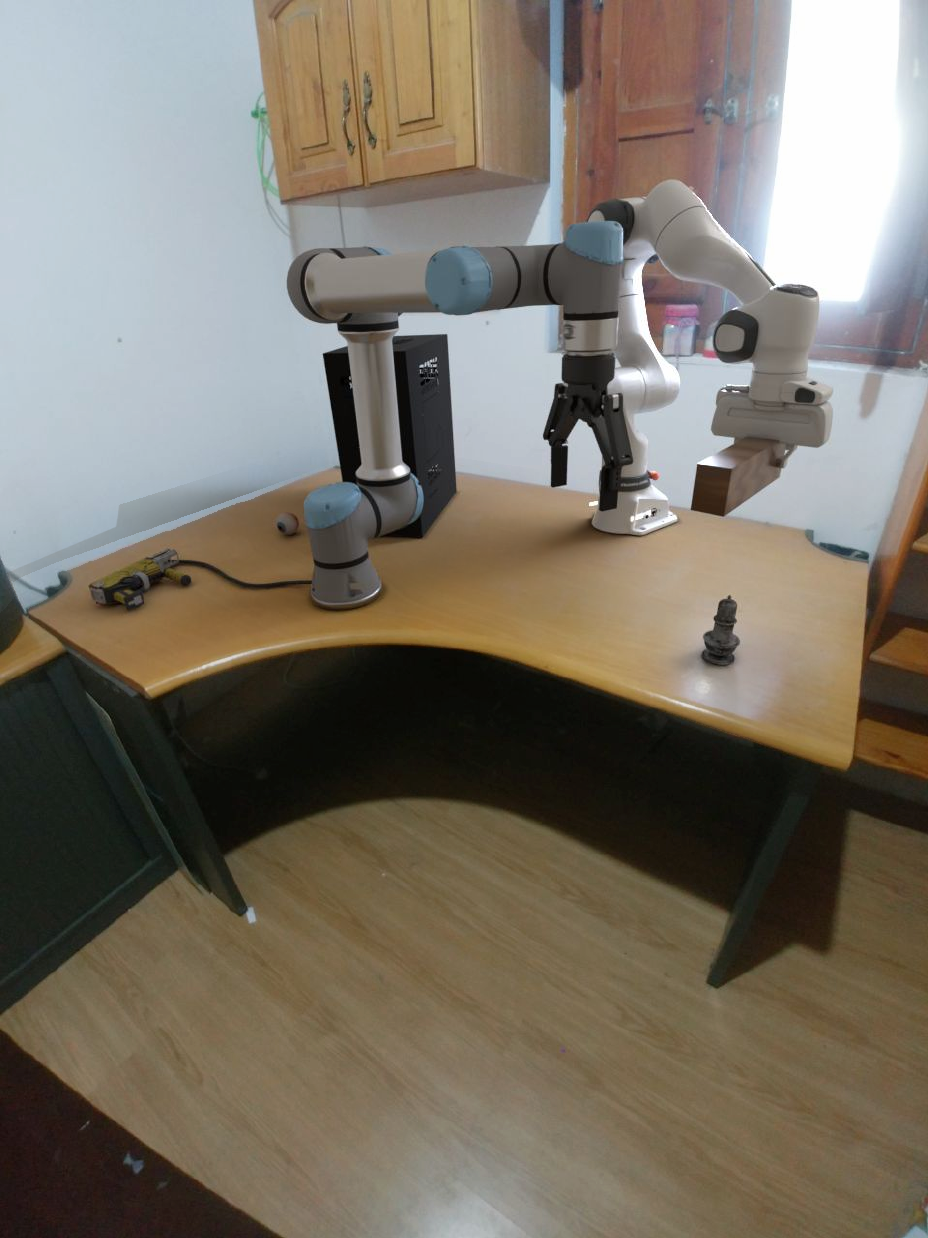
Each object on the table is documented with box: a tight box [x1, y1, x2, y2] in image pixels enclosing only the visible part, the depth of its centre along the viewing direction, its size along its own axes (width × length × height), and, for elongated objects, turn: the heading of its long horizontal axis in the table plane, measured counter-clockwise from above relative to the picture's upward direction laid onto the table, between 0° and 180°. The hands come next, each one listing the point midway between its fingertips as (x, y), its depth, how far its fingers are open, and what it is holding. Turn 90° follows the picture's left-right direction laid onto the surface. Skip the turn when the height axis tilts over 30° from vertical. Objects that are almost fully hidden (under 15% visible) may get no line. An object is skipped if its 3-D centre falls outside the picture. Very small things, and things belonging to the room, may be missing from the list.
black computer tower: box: [322, 333, 458, 538], centre depth 165 cm, size 38×20×45 cm, turn 167°
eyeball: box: [275, 511, 300, 536], centre depth 163 cm, size 6×6×6 cm
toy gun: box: [88, 547, 192, 612], centre depth 139 cm, size 5×24×15 cm
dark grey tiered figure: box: [701, 594, 741, 666], centre depth 101 cm, size 6×6×12 cm
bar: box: [690, 437, 786, 518], centre depth 108 cm, size 26×6×8 cm, turn 137°
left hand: (581, 497), depth 96 cm, fingers open, 13 cm apart
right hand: (761, 464), depth 115 cm, fingers closed on bar, 6 cm apart
